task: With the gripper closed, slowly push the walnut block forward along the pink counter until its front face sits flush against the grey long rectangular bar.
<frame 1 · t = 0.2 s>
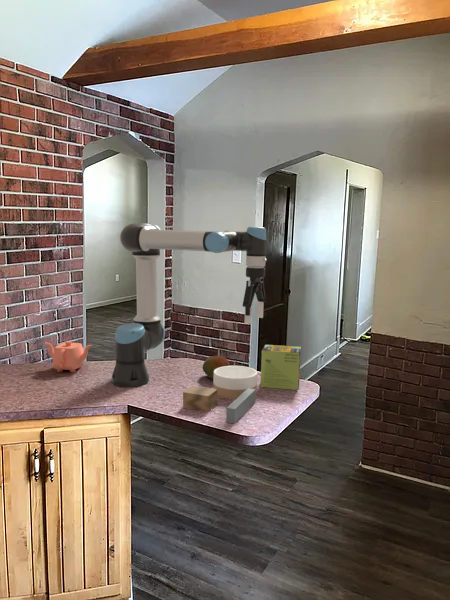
hand: (254, 320, 204), 28 cm above the worktop, fingers open, 13 cm apart
bowl: (235, 392, 204), on the worktop
teapot: (69, 369, 229), on the worktop
fruit: (214, 378, 221), on the worktop
walnut block: (200, 406, 187), on the worktop
protein box: (280, 385, 213), on the worktop
grey long rectangular bar: (241, 411, 183), on the worktop
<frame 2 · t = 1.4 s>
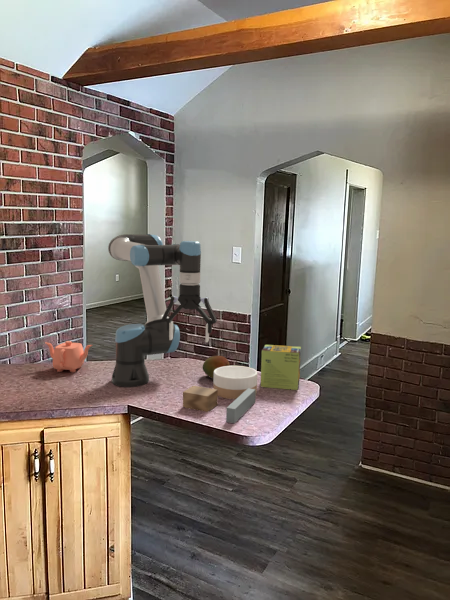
hand: (189, 340, 192), 22 cm above the worktop, fingers open, 13 cm apart
nothing on the worktop moved.
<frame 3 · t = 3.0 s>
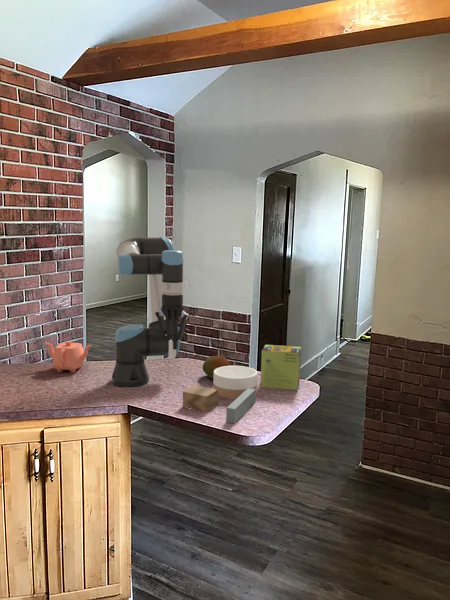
hand: (172, 357, 189), 17 cm above the worktop, fingers closed
nothing on the worktop moved.
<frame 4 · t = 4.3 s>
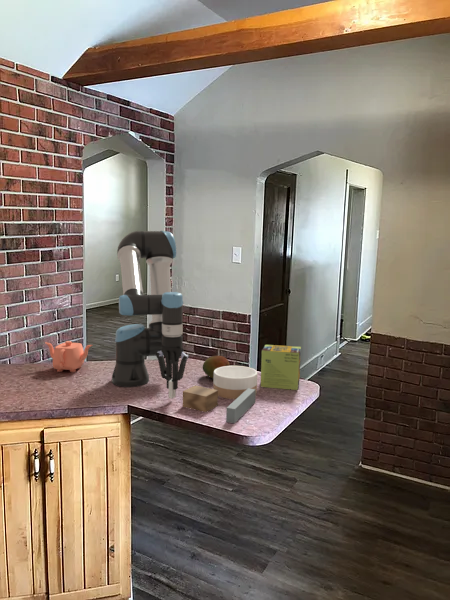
hand: (172, 397, 191), 2 cm above the worktop, fingers closed
nothing on the worktop moved.
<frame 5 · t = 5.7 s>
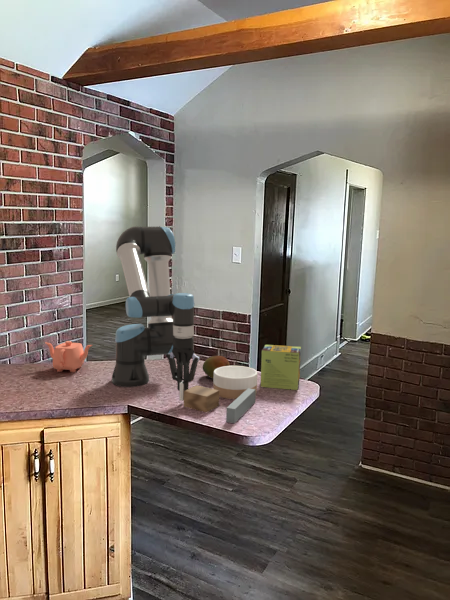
hand: (182, 399, 189), 2 cm above the worktop, fingers closed
walnut block: (201, 406, 187), on the worktop, touching gripper
everything else where it was.
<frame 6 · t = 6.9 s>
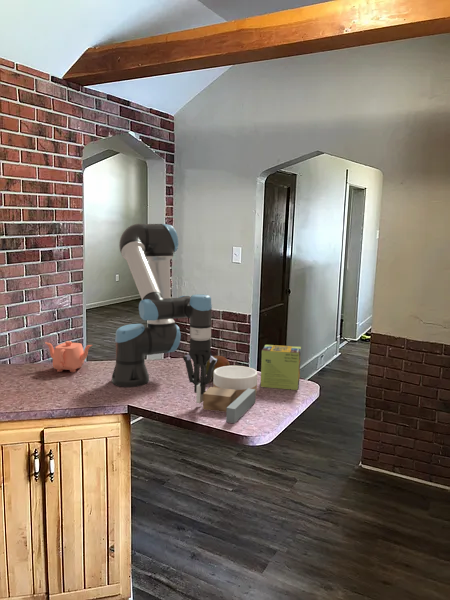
hand: (199, 401, 187), 2 cm above the worktop, fingers closed
walnut block: (219, 407, 187), on the worktop, touching gripper
everything else where it was.
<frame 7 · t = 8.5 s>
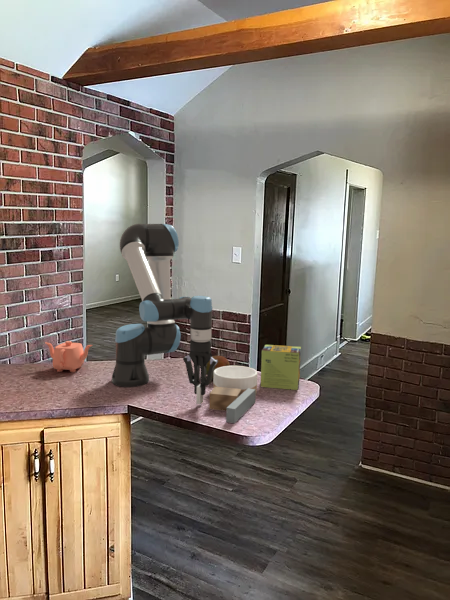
hand: (199, 402, 188), 1 cm above the worktop, fingers closed
walnut block: (225, 407, 187), on the worktop
everything else where it was.
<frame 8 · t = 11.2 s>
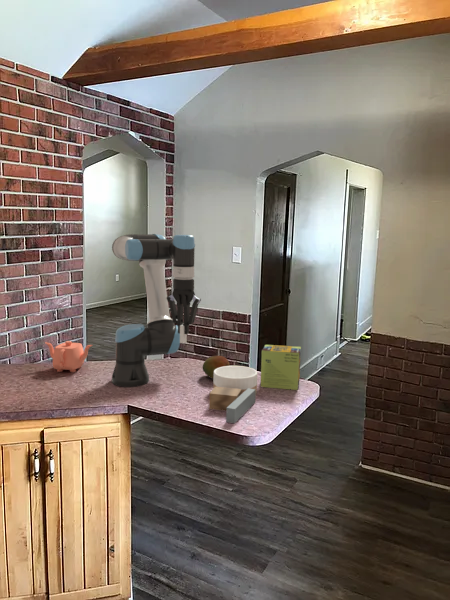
hand: (183, 342, 189), 22 cm above the worktop, fingers closed
nothing on the worktop moved.
at the end: walnut block inside the target area on the worktop beside the grey long rectangular bar (2.4 cm from its centre), on the worktop; walnut block tilted 0° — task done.
